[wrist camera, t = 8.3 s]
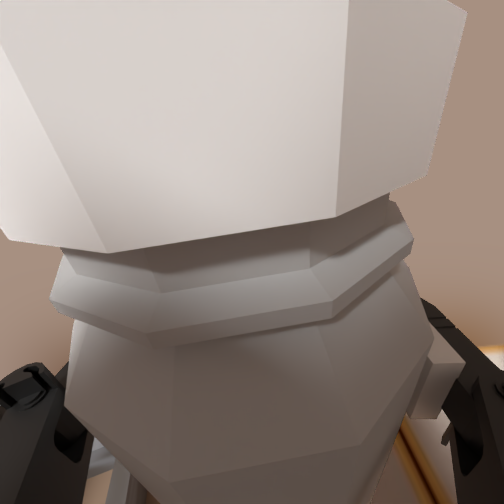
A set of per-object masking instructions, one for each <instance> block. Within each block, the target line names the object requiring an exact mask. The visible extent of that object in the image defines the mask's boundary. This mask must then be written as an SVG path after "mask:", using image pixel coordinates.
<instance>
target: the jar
mask: <svg viewBox="0 0 504 504" xmlns="http://www.w3.org/2000/svg"><path fill="white" fill-rule="evenodd" d="M466 17H467V12H466V11H464V10H463V9H461V8H459V7H457V6H456V5H454V4H452V3H451V2H449V1H447V0H0V228H1V229H2V231H3V232H4V233H5V235H6V236H7V237H8V239H9V240H13V241H20V242H28V243H35V244H42V245H50V246H57V247H60V248H61V250H62V252H63V253H64V255H63V257H62V260H61V263H60V267H59V269H58V273H57V276H56V279H55V282H54V285H53V288H52V291H51V294H50V297H49V300H50V301H51V303H52V304H53V305H54V307H55V308H56V310H57V311H58V312H59V313H61V314H64V315H66V316H69V317H71V318H74V319H75V321H74V325H73V332H72V342H71V349H70V358H69V367H68V375H67V384H66V393H65V402H64V406H65V407H66V408H67V409H68V410H69V411H70V412H71V413H72V414H73V415H74V416H75V417H76V418H77V419H78V420H79V421H80V422H81V423H82V424H83V425H84V426H85V427H86V429H87V430H88V431H89V432H90V433H91V434H92V435H93V436H94V437H95V438H96V439H97V440H98V441H99V442H100V443H101V444H102V445H103V446H104V447H105V448H106V449H107V450H108V451H109V452H110V453H111V454H112V455H113V456H114V457H115V458H116V459H117V460H118V461H119V462H120V463H121V464H122V465H123V466H124V467H125V468H126V469H127V470H128V471H129V472H130V473H131V474H132V475H133V476H134V477H135V478H136V479H137V480H138V481H139V482H140V483H141V484H142V485H143V486H144V487H145V488H146V489H147V490H148V491H149V492H150V493H151V494H152V495H153V496H154V497H155V498H156V499H157V501H158V502H159V503H160V504H370V503H371V500H372V498H373V495H374V492H375V490H376V487H377V485H378V482H379V480H380V477H381V474H382V472H383V469H384V467H385V464H386V462H387V459H388V456H389V454H390V451H391V449H392V446H393V444H394V441H395V438H396V436H397V433H398V431H399V428H400V426H401V423H402V420H403V418H404V415H405V413H406V410H407V407H408V405H409V402H410V400H411V397H412V395H413V392H414V389H415V387H416V384H417V382H418V379H419V377H420V374H421V371H422V369H423V366H424V364H425V361H426V359H427V356H428V353H429V351H430V348H431V346H432V343H433V341H434V335H433V332H432V330H431V327H430V324H429V321H428V319H427V316H426V313H425V310H424V308H423V305H422V302H421V299H420V296H419V294H418V291H417V288H416V286H415V283H414V280H413V277H412V274H411V272H410V269H409V267H408V266H407V264H406V263H405V262H404V261H403V259H404V258H405V257H407V256H408V255H409V254H410V252H411V248H412V245H413V240H414V238H413V236H412V234H411V232H410V230H409V228H408V226H407V224H406V222H405V220H404V218H403V216H402V214H401V212H400V210H399V208H398V206H397V204H396V203H395V202H393V201H390V200H389V194H390V192H391V191H394V190H395V189H398V188H400V187H402V186H404V185H407V184H409V183H411V182H413V181H415V180H417V179H420V178H422V177H424V176H426V175H427V172H428V168H429V165H430V161H431V156H432V153H433V148H434V145H435V140H436V136H437V132H438V128H439V125H440V121H441V117H442V113H443V108H444V105H445V100H446V97H447V92H448V89H449V85H450V81H451V76H452V72H453V68H454V65H455V60H456V56H457V53H458V48H459V44H460V41H461V36H462V33H463V28H464V24H465V20H466Z"/></svg>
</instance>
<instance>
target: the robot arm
mask: <svg viewBox="0 0 504 504" xmlns="http://www.w3.org/2000/svg"><path fill="white" fill-rule="evenodd" d="M420 299H421V302H422V305H423V308H424V310H425V313H426V316H427V319H428V321H429V324H430V327H431V330H432V332H433V335H434V341H433V343H432V346H431V348H430V351H429V353H428V356H427V359H426V361H425V364H424V366H423V369H422V371H421V374H420V377H419V379H418V382H417V384H416V387H415V389H414V392H413V395H412V397H411V400H410V402H409V405H408V407H407V410H406V412H407V414H408V416H409V418H410V419H437V417H438V415H439V413H440V411H441V409H443V411H444V412H445V414H446V415H447V417H448V418H449V420H450V422H451V423H450V424H449V426H448V428H447V429H446V431H445V433H444V434H443V436H442V441H441V444H443V445H445V446H446V445H447V444H448V442H449V440H450V447H451V455H452V463H453V471H454V478H455V486H456V494H457V501H458V504H504V371H503V370H500V369H499V368H498V367H497V366H496V365H495V364H494V363H493V362H492V361H491V360H489V359H488V358H487V357H486V356H485V355H484V354H483V353H482V352H481V351H480V350H479V349H478V348H477V347H476V346H475V345H474V344H473V343H472V342H471V341H470V340H469V339H468V338H467V337H466V336H465V335H464V334H463V333H462V332H461V331H460V330H459V329H458V328H457V329H456V328H455V325H454V324H453V323H452V322H450V320H448V319H446V317H445V316H444V315H443V314H442V313H441V312H440V311H439V310H438V309H437V308H436V307H435V306H434V305H432V304H430V303H428V302H427V301H425V300H423V299H422V298H420ZM68 367H69V361H68V362H67V364H66V365H65V366H64V367H63V368H62V369H61V370H60V371H59V372H58V373H57V375H56V376H54V375H53V374H52V373H51V372H50V371H49V370H48V369H47V368H46V367H45V366H44V365H43V364H42V363H37V362H36V363H32V364H28V365H26V366H23V367H21V368H19V369H17V370H15V371H14V372H12V373H11V374H9V375H7V376H6V377H5V378H3V379H2V380H1V381H0V405H1V406H0V504H82V503H83V497H84V492H85V486H86V481H87V475H88V469H89V464H90V458H91V453H92V447H93V442H94V436H93V435H92V434H91V433H90V432H89V431H88V430H87V429H86V427H85V426H84V425H83V424H82V423H81V422H80V421H79V420H78V419H77V418H76V417H75V416H74V415H73V414H72V413H71V412H70V411H69V410H68V409H67V408H66V407H65V406H64V402H65V393H66V384H67V375H68Z"/></svg>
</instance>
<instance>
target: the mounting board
mask: <svg viewBox="0 0 504 504" xmlns="http://www.w3.org/2000/svg"><path fill="white" fill-rule="evenodd" d="M82 504H160V503H159V502H158V501H157V499H156V498H155V497H154V496H153V495H152V494H151V493H150V492H149V491H148V490H147V489H146V488H145V487H144V486H143V485H142V484H141V483H140V482H139V481H138V480H137V479H136V478H135V477H134V476H133V475H132V474H131V473H130V472H129V471H128V470H127V469H126V468H125V467H124V466H123V465H122V464H121V463H120V462H119V461H118V460H117V459H116V458H115V457H114V456H113V455H112V454H111V453H110V452H109V451H108V450H107V449H106V448H105V447H104V446H103V445H102V444H101V443H100V442H99V441H98V440H97V439H96V438H95V437H94V442H93V447H92V453H91V458H90V464H89V469H88V475H87V481H86V486H85V492H84V497H83V503H82Z"/></svg>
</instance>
